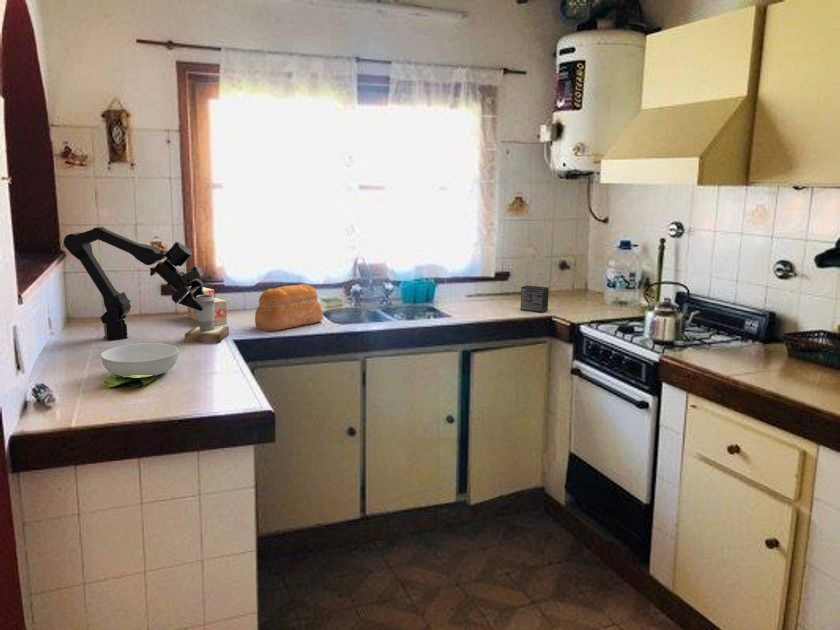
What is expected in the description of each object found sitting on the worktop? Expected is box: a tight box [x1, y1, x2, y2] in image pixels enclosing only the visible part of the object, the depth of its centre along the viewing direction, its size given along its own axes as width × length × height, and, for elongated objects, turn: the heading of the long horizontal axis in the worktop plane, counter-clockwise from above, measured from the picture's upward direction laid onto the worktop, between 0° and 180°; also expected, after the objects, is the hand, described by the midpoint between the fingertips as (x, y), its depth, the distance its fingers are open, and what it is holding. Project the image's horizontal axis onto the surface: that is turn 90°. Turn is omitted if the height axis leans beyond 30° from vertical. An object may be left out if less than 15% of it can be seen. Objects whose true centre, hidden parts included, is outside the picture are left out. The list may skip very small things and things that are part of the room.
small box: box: [520, 284, 549, 314], centre depth 301 cm, size 11×6×10 cm, turn 58°
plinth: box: [184, 326, 230, 344], centre depth 245 cm, size 12×12×3 cm
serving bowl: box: [100, 342, 179, 376], centre depth 201 cm, size 21×21×7 cm
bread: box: [254, 283, 324, 331], centre depth 268 cm, size 14×26×15 cm, turn 139°
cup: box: [196, 295, 216, 331], centre depth 244 cm, size 7×7×12 cm
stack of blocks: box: [187, 286, 228, 326], centre depth 274 cm, size 21×6×12 cm, turn 43°
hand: (205, 307), depth 243 cm, fingers open, 9 cm apart
